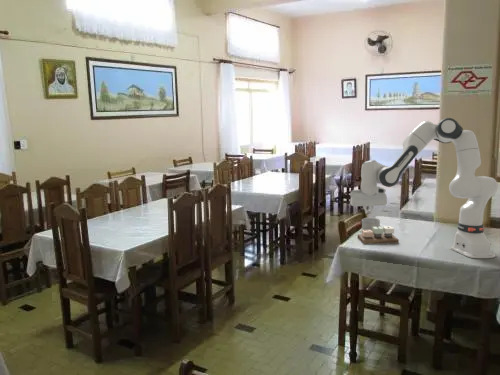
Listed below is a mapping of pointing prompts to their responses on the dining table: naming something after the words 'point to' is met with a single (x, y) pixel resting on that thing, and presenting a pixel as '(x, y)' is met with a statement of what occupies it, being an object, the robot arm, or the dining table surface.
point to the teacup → (370, 223)
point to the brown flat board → (378, 239)
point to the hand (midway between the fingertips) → (368, 213)
